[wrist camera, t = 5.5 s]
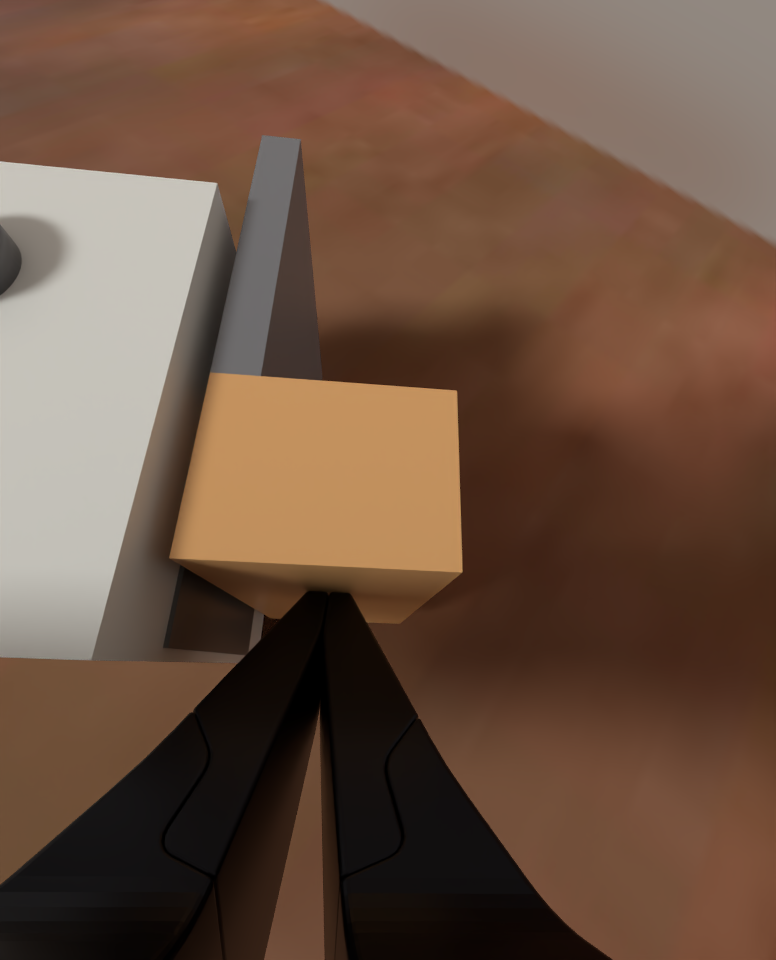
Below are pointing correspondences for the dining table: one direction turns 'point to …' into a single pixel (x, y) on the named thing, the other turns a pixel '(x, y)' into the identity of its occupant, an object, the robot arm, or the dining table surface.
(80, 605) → the block
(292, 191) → the side door
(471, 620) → the dining table surface
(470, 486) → the dining table surface
